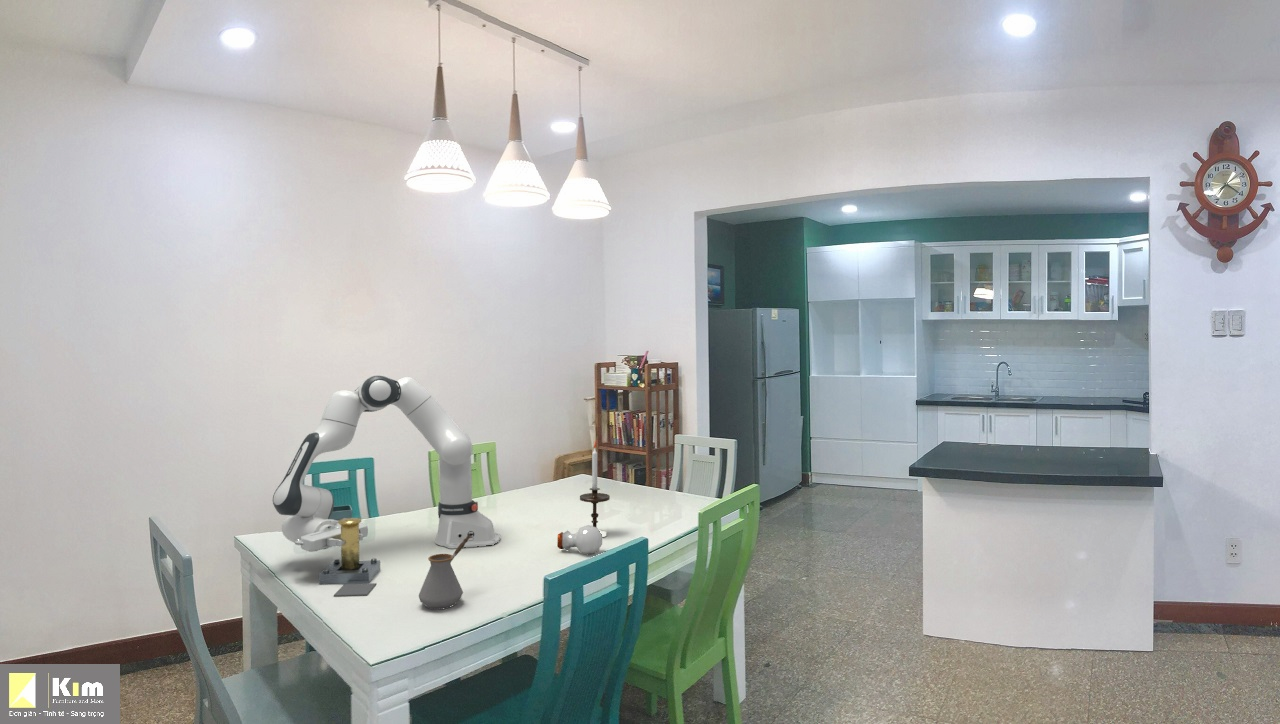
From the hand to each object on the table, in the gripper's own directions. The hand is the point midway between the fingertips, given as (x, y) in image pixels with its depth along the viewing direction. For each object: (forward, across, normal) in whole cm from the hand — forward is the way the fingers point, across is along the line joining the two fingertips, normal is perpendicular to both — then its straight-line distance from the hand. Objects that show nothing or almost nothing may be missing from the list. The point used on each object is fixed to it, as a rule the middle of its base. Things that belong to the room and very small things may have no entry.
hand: (352, 540), depth 213 cm
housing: (-1, 0, +11) cm, 11 cm away
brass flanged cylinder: (-1, 0, +8) cm, 8 cm away
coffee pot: (+38, +2, +11) cm, 40 cm away
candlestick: (+37, +75, +12) cm, 85 cm away
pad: (+10, -7, +11) cm, 17 cm away
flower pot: (-46, +30, +12) cm, 56 cm away
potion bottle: (+45, +55, +12) cm, 72 cm away
